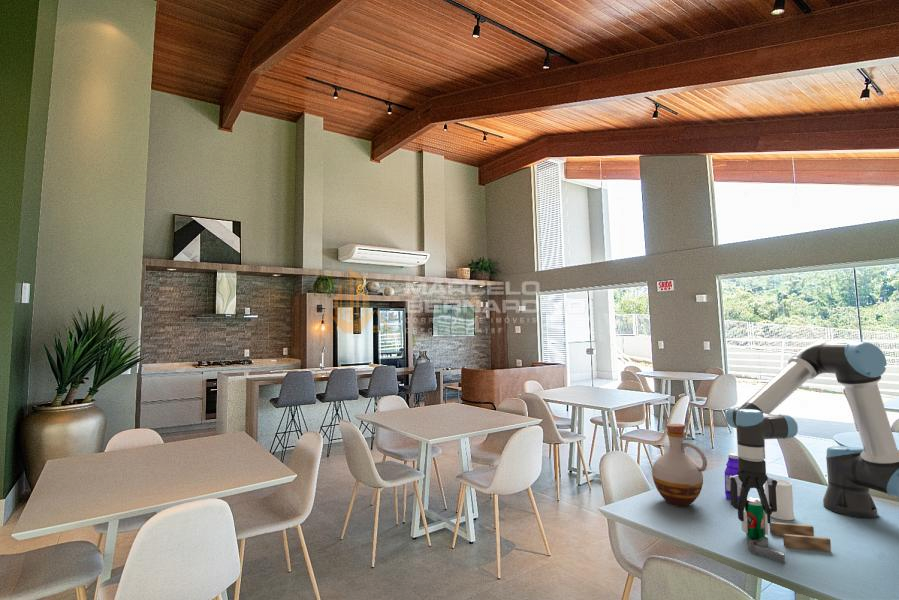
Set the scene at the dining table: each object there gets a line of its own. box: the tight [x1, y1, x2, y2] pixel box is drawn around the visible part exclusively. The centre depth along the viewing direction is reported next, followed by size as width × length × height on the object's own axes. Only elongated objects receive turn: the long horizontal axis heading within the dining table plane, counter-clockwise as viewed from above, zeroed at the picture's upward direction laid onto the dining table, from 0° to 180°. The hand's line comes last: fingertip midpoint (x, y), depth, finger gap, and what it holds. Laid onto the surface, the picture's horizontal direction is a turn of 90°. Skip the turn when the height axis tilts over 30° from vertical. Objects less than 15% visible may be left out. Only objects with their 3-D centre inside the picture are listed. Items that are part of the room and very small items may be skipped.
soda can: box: [744, 496, 766, 541], centre depth 146 cm, size 5×5×12 cm
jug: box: [651, 423, 708, 508], centre depth 176 cm, size 20×18×30 cm
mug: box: [764, 477, 795, 521], centre depth 163 cm, size 12×8×12 cm
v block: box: [747, 536, 786, 565], centre depth 136 cm, size 7×12×2 cm, turn 167°
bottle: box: [724, 452, 742, 500], centre depth 181 cm, size 7×6×17 cm
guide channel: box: [769, 521, 832, 552], centre depth 143 cm, size 12×10×4 cm
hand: (754, 531), depth 146 cm, fingers closed on soda can, 5 cm apart
